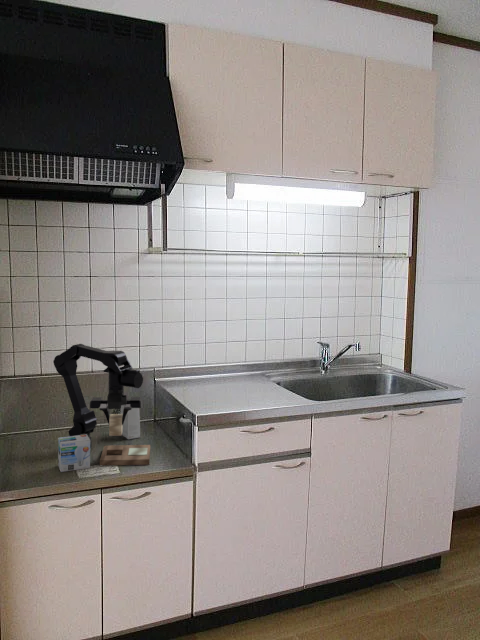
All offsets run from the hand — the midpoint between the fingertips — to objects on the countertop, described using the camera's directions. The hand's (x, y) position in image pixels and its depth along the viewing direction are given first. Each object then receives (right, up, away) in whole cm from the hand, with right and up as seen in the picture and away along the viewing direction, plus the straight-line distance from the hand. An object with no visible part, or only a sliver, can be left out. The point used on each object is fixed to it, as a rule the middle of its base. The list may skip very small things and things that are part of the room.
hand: (116, 424), depth 199 cm
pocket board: (+3, -13, +2) cm, 14 cm away
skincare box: (0, -10, +26) cm, 28 cm away
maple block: (0, -4, 0) cm, 4 cm away
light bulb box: (-13, -14, -8) cm, 21 cm away
